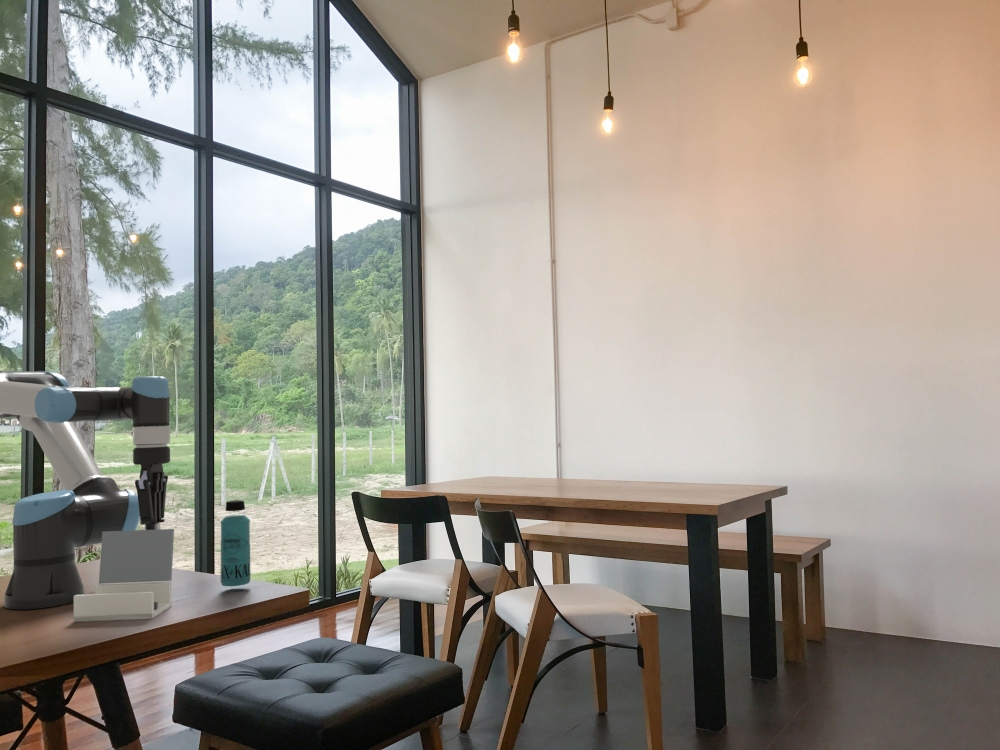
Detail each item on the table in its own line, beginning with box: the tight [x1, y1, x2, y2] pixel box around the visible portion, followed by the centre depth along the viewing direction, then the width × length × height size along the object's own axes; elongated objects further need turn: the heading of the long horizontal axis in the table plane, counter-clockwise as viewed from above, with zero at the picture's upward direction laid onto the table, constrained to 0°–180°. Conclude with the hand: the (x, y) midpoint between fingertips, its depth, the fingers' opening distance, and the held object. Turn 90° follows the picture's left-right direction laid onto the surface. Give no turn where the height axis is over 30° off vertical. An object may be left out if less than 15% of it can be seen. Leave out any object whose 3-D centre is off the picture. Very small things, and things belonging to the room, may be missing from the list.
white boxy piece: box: [73, 581, 172, 623], centre depth 160 cm, size 10×15×5 cm, turn 92°
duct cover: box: [98, 528, 175, 585], centre depth 166 cm, size 11×15×1 cm
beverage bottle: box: [219, 499, 252, 587], centre depth 179 cm, size 6×7×20 cm
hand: (153, 553), depth 175 cm, fingers closed
